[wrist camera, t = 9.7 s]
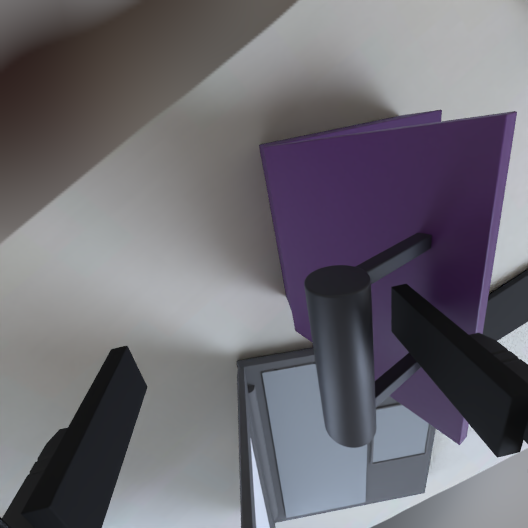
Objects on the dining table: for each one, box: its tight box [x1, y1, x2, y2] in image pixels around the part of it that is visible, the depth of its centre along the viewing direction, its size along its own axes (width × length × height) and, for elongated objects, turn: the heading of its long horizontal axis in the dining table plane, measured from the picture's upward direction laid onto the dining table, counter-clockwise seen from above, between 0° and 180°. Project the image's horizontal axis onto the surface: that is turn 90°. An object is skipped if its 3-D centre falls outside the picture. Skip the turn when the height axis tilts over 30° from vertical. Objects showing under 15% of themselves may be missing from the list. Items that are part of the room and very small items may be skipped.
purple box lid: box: [263, 111, 517, 448], centre depth 17 cm, size 15×17×8 cm
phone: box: [483, 270, 528, 341], centre depth 38 cm, size 7×1×15 cm
